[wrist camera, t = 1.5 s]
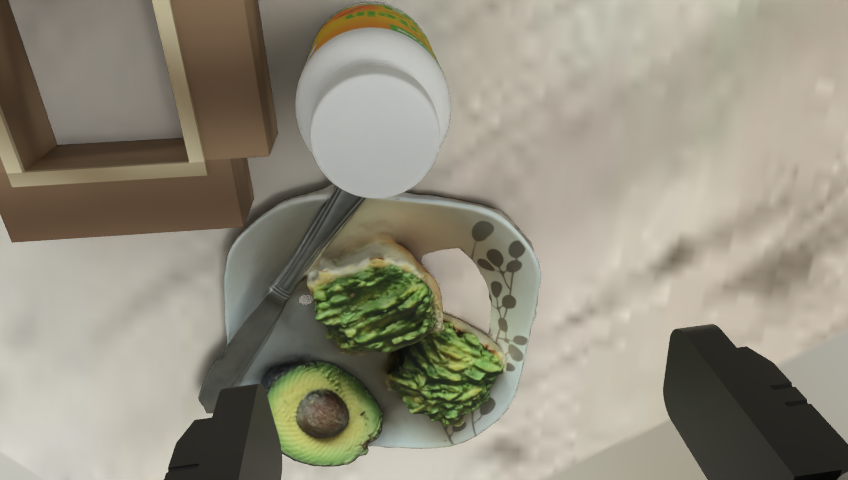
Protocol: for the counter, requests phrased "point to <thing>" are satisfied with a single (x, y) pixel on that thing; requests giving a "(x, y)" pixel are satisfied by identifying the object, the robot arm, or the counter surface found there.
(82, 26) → the counter surface
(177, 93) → the open cardboard box
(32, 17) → the counter surface
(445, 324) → the avocado toast plate
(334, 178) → the supplement bottle
